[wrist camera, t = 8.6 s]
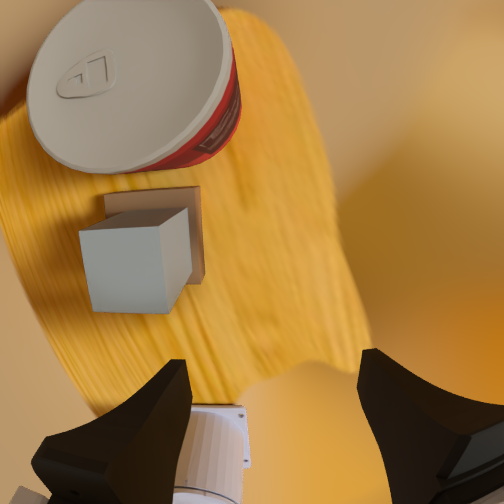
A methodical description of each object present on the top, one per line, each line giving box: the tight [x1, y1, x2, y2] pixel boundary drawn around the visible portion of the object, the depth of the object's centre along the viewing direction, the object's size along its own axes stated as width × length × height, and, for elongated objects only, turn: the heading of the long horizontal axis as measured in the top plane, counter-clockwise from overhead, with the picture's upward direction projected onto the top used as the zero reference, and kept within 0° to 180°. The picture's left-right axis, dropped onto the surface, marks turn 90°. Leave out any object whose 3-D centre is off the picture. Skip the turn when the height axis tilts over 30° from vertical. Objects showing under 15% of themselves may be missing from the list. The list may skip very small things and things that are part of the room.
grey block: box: [79, 207, 192, 314], centre depth 16 cm, size 4×4×6 cm
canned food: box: [27, 0, 242, 174], centre depth 14 cm, size 8×8×11 cm
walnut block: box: [104, 186, 205, 284], centre depth 20 cm, size 6×6×2 cm
